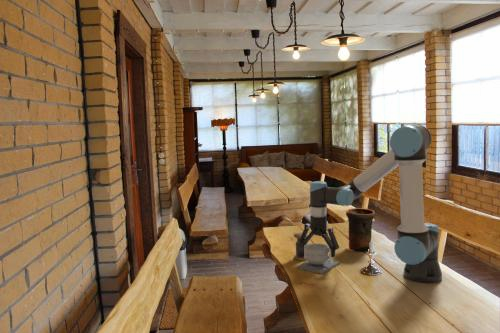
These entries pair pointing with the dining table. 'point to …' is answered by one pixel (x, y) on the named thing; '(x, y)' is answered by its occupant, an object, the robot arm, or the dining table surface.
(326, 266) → the pad
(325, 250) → the teacup
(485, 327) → the dining table surface
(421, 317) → the dining table surface
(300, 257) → the brown rounded upright piece
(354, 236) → the vessel
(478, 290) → the dining table surface
